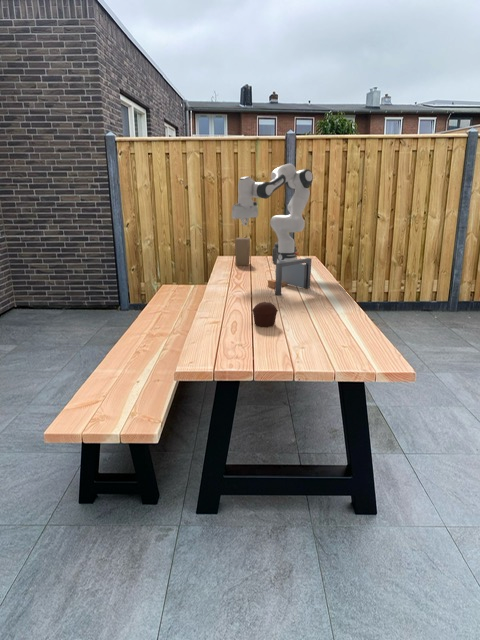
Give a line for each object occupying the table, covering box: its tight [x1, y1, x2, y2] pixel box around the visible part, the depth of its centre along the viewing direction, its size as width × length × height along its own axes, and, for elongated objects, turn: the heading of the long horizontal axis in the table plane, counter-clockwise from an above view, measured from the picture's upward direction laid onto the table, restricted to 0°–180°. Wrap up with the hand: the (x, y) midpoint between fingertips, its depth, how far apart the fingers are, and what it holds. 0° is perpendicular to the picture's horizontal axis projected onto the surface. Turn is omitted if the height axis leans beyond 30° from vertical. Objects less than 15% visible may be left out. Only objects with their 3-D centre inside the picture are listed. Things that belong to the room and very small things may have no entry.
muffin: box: [251, 301, 279, 328], centre depth 204 cm, size 12×11×10 cm
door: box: [279, 260, 307, 289], centre depth 277 cm, size 22×1×14 cm, turn 41°
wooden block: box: [234, 237, 251, 267], centre depth 342 cm, size 10×10×20 cm
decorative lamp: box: [271, 232, 298, 265], centre depth 349 cm, size 19×19×30 cm
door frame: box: [274, 257, 312, 296], centre depth 263 cm, size 27×2×18 cm, turn 131°
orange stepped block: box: [267, 279, 288, 289], centre depth 279 cm, size 12×5×4 cm, turn 132°
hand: (244, 225), depth 294 cm, fingers closed
